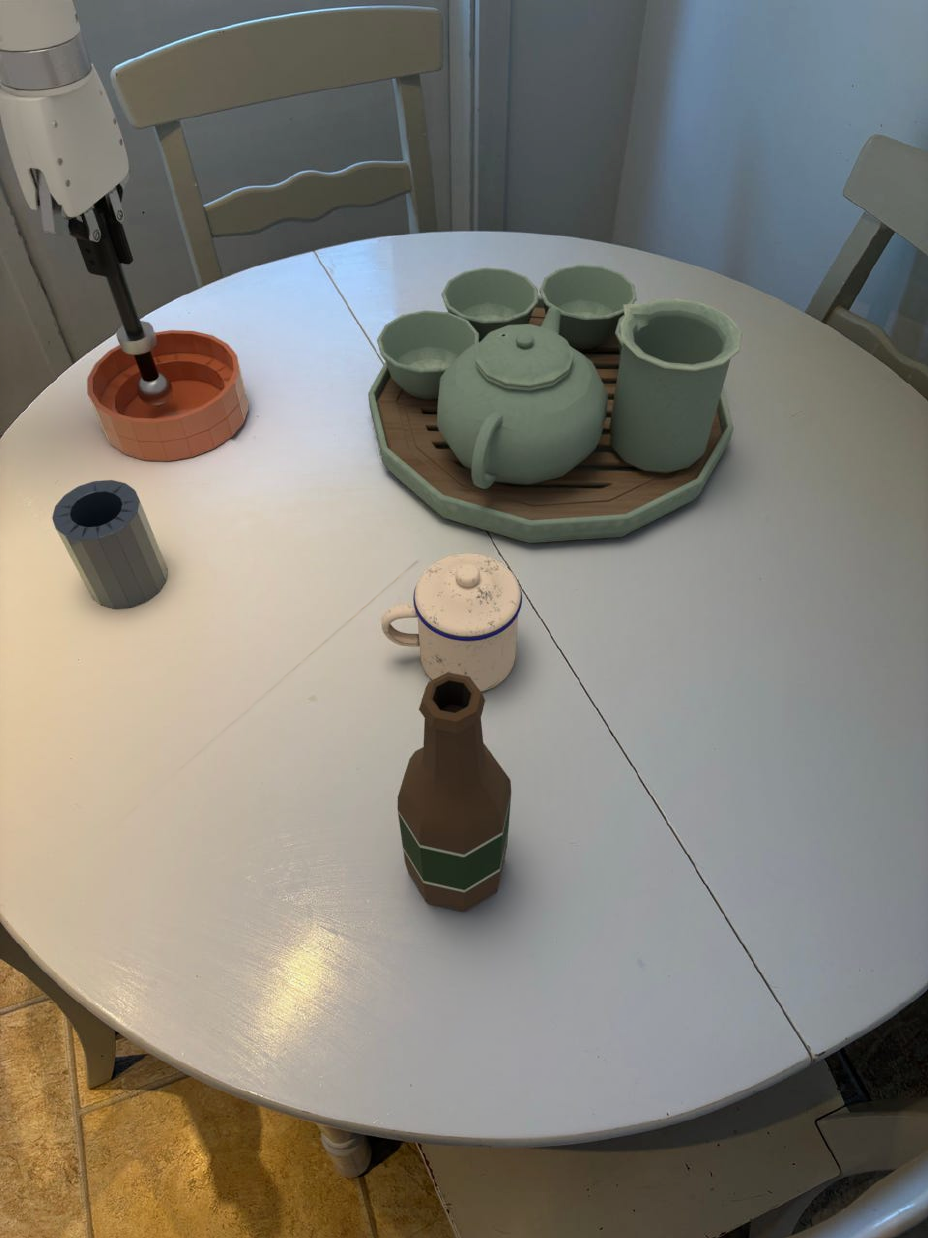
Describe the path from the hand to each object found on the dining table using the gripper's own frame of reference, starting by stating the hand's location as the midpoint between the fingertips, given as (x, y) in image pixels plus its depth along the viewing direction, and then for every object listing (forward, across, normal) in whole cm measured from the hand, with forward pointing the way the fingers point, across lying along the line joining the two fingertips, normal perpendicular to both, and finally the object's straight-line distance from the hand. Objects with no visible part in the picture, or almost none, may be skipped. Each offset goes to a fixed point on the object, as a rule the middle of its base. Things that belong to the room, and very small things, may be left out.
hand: (111, 266), depth 87 cm
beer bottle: (+19, +40, +50) cm, 66 cm away
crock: (+19, +23, +10) cm, 31 cm away
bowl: (+18, 0, +2) cm, 19 cm away
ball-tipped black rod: (+17, 0, 0) cm, 17 cm away
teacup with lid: (+19, +21, +43) cm, 51 cm away
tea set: (+19, -13, +42) cm, 48 cm away
